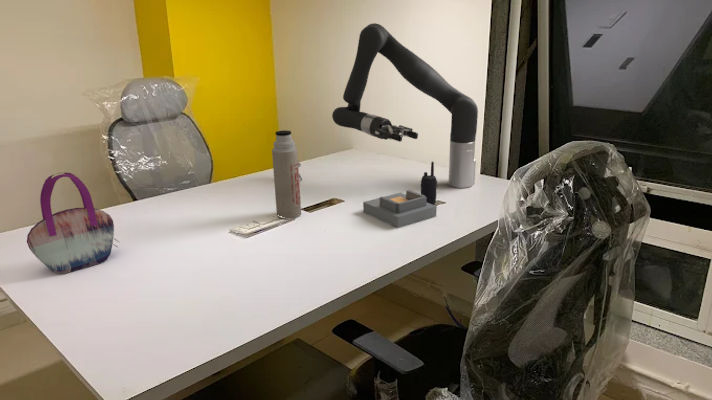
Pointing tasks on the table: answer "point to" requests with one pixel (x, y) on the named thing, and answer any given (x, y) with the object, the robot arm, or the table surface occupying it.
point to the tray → (400, 208)
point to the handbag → (71, 232)
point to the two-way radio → (429, 186)
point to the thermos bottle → (286, 175)
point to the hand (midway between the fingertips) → (409, 137)
